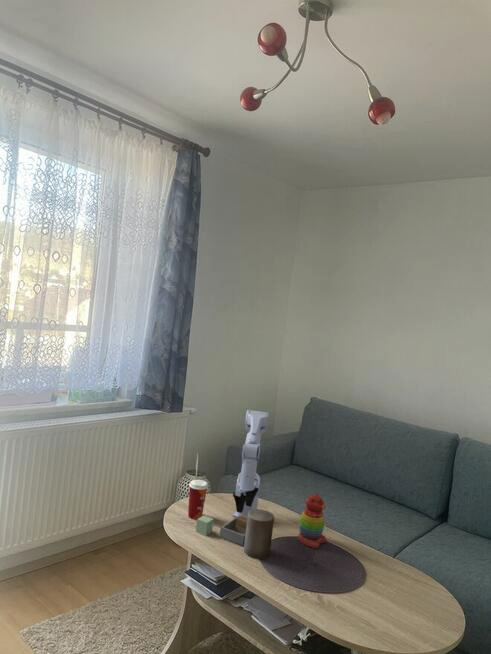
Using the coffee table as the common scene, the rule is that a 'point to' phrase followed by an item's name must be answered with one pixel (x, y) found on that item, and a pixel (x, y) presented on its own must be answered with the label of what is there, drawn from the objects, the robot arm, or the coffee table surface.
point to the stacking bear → (312, 522)
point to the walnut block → (241, 524)
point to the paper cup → (197, 498)
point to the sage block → (204, 525)
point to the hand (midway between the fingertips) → (243, 508)
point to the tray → (232, 533)
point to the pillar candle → (258, 533)
